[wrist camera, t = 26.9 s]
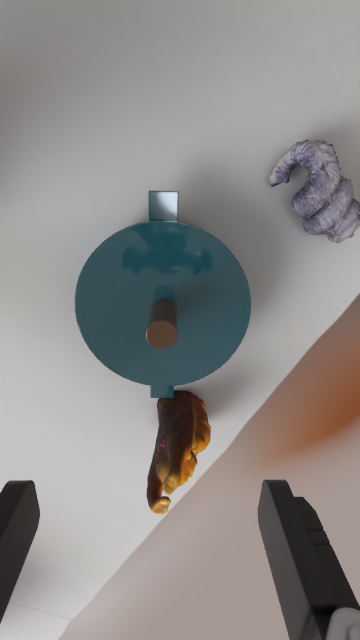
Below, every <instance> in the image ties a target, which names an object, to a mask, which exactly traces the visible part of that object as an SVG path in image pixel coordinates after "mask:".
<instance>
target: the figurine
mask: <svg viewBox="0 0 360 640" xmlns="http://www.w3.org/2000/svg"><path fill="white" fill-rule="evenodd" d="M157 408H158V419H159V429H158V435H157V439H156V446H155V451H154V454H153V459H152V463H151V466H150V470H149V475H148V487H147V500H148V504H149V507H150V509H151V510H152V512H154V513H156V514H164V513H166V512H167V511H168V506H169V504H170V502H171V501H170V499H169V497H165V496H162V497H161V494H162V491H163V490H164V492H165V493H166V494H168V495H170V494H171V493H172V492H173V491H174V490H175V489H176V488H177V487H178V486H181V485H183V484H184V483H186V482H187V480H188V478H190V477H192V474H193V472H194V468H195V466H196V464H197V460H196V456H197V453H199V452H201V451H203V450H204V449H205V448H206V447H207V446H208V444H209V442H210V432H211V430H210V429H211V427H210V425H209V423H208V417H207V413H206V411H205V405H204V402H203V401H202V400H200V399H198V397H196V396H195V395H193V394H192V393H190V392H187V391H174V397H173V398H159V400H158V403H157Z"/></svg>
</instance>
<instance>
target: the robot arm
mask: <svg viewBox="0 0 360 640" xmlns="http://www.w3.org/2000/svg"><path fill="white" fill-rule="evenodd" d="M39 518H40V509H39V504H38V499H37V494H36V490H35V485H34V482H33V481H32V480H27V481H8V482H7V483H6V485H5V486H4V488H3V490H2V491H1V493H0V623H1V620H2V618H3V615H4V613H5V610H6V608H7V605H8V603H9V600H10V597H11V595H12V592H13V590H14V587H15V585H16V582H17V580H18V577H19V574H20V572H21V569H22V567H23V564H24V562H25V559H26V557H27V554H28V552H29V549H30V546H31V544H32V541H33V539H34V536H35V534H36V531H37V528H38V524H39ZM258 522H259V527H260V532H261V535H262V539H263V543H264V546H265V550H266V554H267V558H268V561H269V565H270V569H271V572H272V576H273V580H274V583H275V587H276V591H277V594H278V598H279V602H280V606H281V609H282V613H283V616H284V620H285V624H286V627H287V631H288V635H289V639H290V640H360V606H359V604H358V602H357V600H356V598H355V596H354V594H353V591H352V589H351V587H350V585H349V583H348V581H347V578H346V577H345V574H344V572H343V570H342V568H341V565H340V563H339V561H338V559H337V557H336V555H335V552H334V550H333V548H332V546H331V545H330V543H329V540H328V538H327V535H326V533H325V531H324V530H323V526H322V524H321V522H320V520H319V518H318V516H317V513H316V511H315V510H314V509H313V508H312V507H311V505H310V504H309V503H308V502H307V501H306V500H305V499H304V498H303V497H294V496H293V494H292V492H291V489H290V487H289V484H288V483H287V481H286V480H264V481H263V484H262V489H261V495H260V500H259V506H258Z"/></svg>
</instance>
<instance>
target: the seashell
mask: <svg viewBox="0 0 360 640" xmlns="http://www.w3.org/2000/svg"><path fill="white" fill-rule="evenodd" d="M337 158H338V156H336V152H335V150H334V148H333V145H332V144H328V143H327V142H326V141H322V140H321V141H320V140H317V141H308V140H306V141H304V142H297V143H296V144H295V145H294V146H292V147H291V148H290V149H289V151H288V152H287V153H286V154H285V155H284V156H283V157H282V158H281V159H280V160H279V162H278V163H277V164H276V166H275V167H274V169H273V171H272V174H271V176H270V178H269V179H268V180H267V181H268V183H269V184H270V185H271V187H274V186H276V185H279V184H280V183H281V182H285V183H288V182H289V176H290V173H291V171H292V170H293V169H294V168H295V167H296V166H297V165H298V166H303V167H305V168H307V169H308V176H307V180H306V183H305V187H303V188H302V189H301V190H300V191H299V192H297V193H296V194H295V195H294V196H293V199H292V202H291V203H292V204H291V205H292V208H293V210H294V211H295V212H296V213H298V215H299V216H301V217H303V220H302V225H303V227H304V230H305V231H306V232H307V233H308V234H311V235H320V234H326V235H327V237H328V239H329V241H331V242H335V243H340V242H341V241H343V240H345V239H347V238H349V237H350V238H351V237H352V236H353V233H354V231H355V230H356V229H357V228H358V226H359V225H360V214H359V212H360V204H359V202H358V201H357V200H355V199H354V198H353V187H352V185H351V183H350V182H351V181H350V180H348V179H346V178H344V177H343V176H340V167H339V162H338V159H337Z"/></svg>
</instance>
